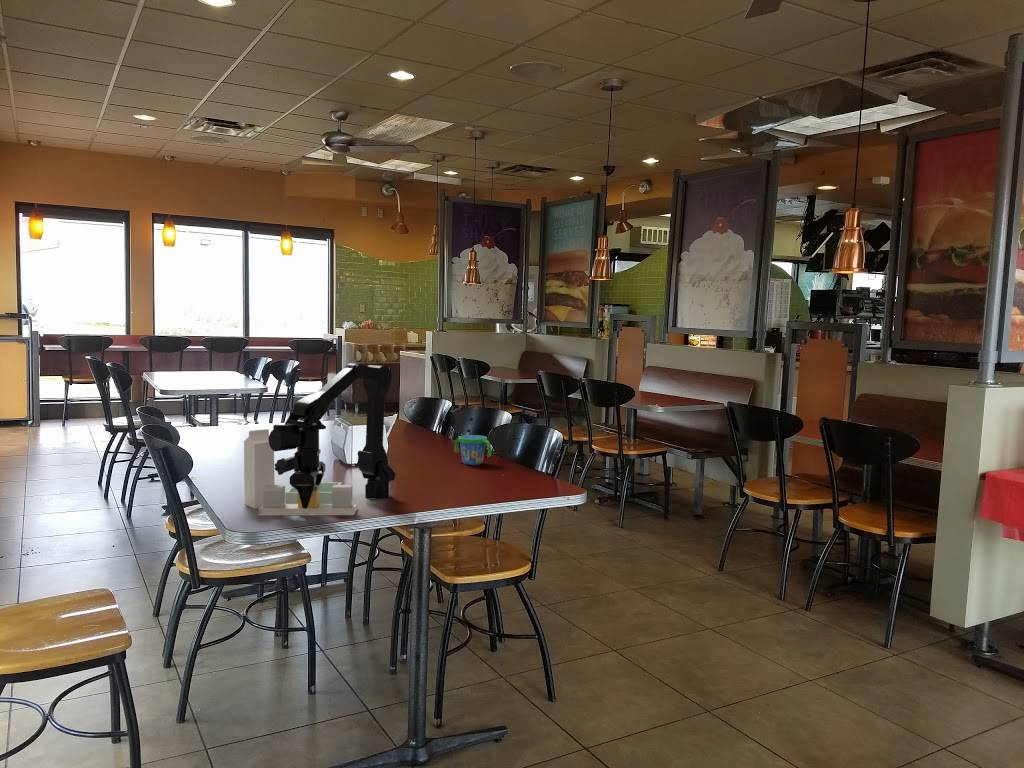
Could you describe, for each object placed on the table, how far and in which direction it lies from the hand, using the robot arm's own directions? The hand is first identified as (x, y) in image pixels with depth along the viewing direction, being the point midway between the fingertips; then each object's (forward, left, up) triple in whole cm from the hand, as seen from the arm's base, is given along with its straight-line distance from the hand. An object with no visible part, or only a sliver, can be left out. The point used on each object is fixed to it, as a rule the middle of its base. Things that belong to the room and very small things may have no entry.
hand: (308, 504), depth 204 cm
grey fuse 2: (-9, 0, -2) cm, 9 cm away
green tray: (+1, -14, -3) cm, 15 cm away
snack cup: (-46, -75, -3) cm, 88 cm away
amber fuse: (0, 0, -2) cm, 2 cm away
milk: (+15, -8, -3) cm, 17 cm away
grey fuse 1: (+9, 0, -2) cm, 9 cm away
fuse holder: (0, 0, -3) cm, 3 cm away
